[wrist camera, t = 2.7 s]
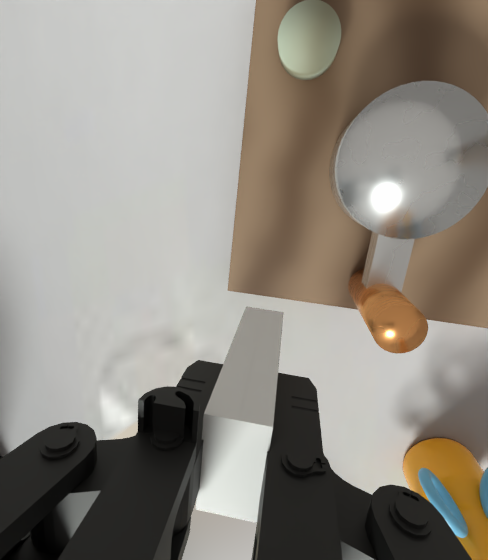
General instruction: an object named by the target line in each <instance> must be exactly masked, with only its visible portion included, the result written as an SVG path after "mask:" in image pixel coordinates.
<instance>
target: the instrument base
mask: <svg viewBox="0 0 488 560" xmlns="http://www.w3.org/2000/svg"><path fill="white" fill-rule="evenodd" d="M418 81H439V82H445V83H448V84H452V85H455V86H457V87H459V88H461V89H463V90H465V91H466V92H468V93H469V94H471V95H472V96H473V97H474V98H475V99H477V100H478V101H479V102H480V103H481V105H482V106H483V107H484V109H485V110H486V111H487V113H488V0H256V7H255V17H254V27H253V37H252V48H251V58H250V68H249V78H248V89H247V99H246V109H245V119H244V129H243V140H242V150H241V160H240V170H239V180H238V191H237V201H236V211H235V221H234V232H233V242H232V252H231V262H230V272H229V283H228V291H234V292H241V293H248V294H255V295H262V296H269V297H276V298H283V299H290V300H297V301H303V302H310V303H317V304H324V305H331V306H338V307H345V308H352V309H358V308H357V306H356V304H355V303H354V301H353V299H352V297H351V295H350V293H349V290H348V283H349V280H350V278H351V277H352V276H353V274H354V273H356V272H357V271H359V270H361V269H364V268H365V263H366V259H367V254H368V250H369V245H370V240H371V236H372V231H371V230H369V229H367V228H366V227H364V226H362V225H360V224H359V223H357V222H355V221H354V220H352V219H351V218H350V217H349V216H347V215H346V214H345V213H344V212H343V210H342V209H341V208H340V207H339V205H338V203H337V202H336V200H335V198H334V195H333V193H332V189H331V186H330V179H329V167H330V160H331V156H332V152H333V150H334V147H335V144H336V143H337V141H338V139H339V137H340V135H341V134H342V132H343V131H344V129H345V128H346V127H347V126H348V125H349V124H350V122H351V121H352V120H353V119H354V118H355V117H356V116H357V115H358V114H359V113H360V112H361V111H362V110H363V109H364V108H365V107H366V106H367V105H368V104H370V103H371V102H372V101H373V100H375V99H376V98H377V97H379V96H380V95H382V94H383V93H385V92H387V91H389V90H391V89H393V88H395V87H398V86H400V85H404V84H407V83H411V82H418ZM401 293H402V294H403V295H404V296H405V297H406V298H407V299H408V300H409V301H410V302H411V303H412V304H413V305H414V306H415V307H416V308H417V309H418V310H419V311H420V312H421V313H422V314H423V315H424V316H425V318H426V319H428V320H435V321H441V322H448V323H455V324H462V325H469V326H476V327H483V328H488V187H487V189H486V191H485V193H484V194H483V196H482V197H481V199H480V200H479V202H478V203H477V204H476V205H475V206H474V208H473V209H472V210H471V211H470V212H469V213H468V214H467V215H466V216H465V217H463V218H462V219H461V220H460V221H458V222H457V223H455V224H454V225H452V226H451V227H449V228H447V229H445V230H443V231H441V232H439V233H436V234H433V235H430V236H427V237H422V238H417V239H415V240H414V244H413V248H412V252H411V256H410V260H409V264H408V268H407V272H406V276H405V280H404V283H403V287H402V291H401Z"/></svg>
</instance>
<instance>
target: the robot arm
mask: <svg viewBox="0 0 488 560" xmlns="http://www.w3.org/2000/svg"><path fill="white" fill-rule="evenodd" d="M282 323H283V312H278V311H271V310H265V309H258V308H252V307H246V309H245V311H244V314H243V316H242V319H241V321H240V324H239V326H238V329H237V331H236V334H235V336H234V339H233V341H232V344H231V347H230V349H229V352H228V354H227V357H226V359H225V362H224V364H218V363H212V362H206V361H200V360H198V361H196V362H195V363H193V364H192V365H190V366H189V367H187V369H186V371H185V372H184V374H183V376H182V378H181V379H180V381H179V383H178V384H177V387H162V388H156V389H154V390H152V391H149V392H147V393H145V394H144V395H143V396H142V397H141V398H140V399H139V400H138V433H137V434H136V436H133V437H130V438H124V439H115V440H99V441H96V435H95V432H94V430H93V429H92V428H90V427H89V426H88V425H86V424H82V423H78V422H70V423H61V424H58V425H54V426H51V427H48V428H47V429H45V430H43V431H41V432H39V433H37V434H36V435H34V436H33V437H32V438H30V439H29V440H27V441H26V442H24V443H23V444H21V445H20V446H19V447H17V448H16V449H14V450H13V451H11V452H10V453H9V454H7V455H6V456H4V457H3V458H0V560H181V559H182V556H183V553H184V550H185V546H186V543H187V540H188V536H189V531H190V521H191V514H192V511H193V508H194V505H195V501H196V498H197V501H196V509H197V510H201V511H206V512H210V513H215V514H219V515H223V516H228V517H233V518H237V519H241V520H246V521H250V522H255V523H257V527H256V534H255V541H254V547H253V553H252V560H472V559H471V557H470V556H469V554H468V553H467V551H466V550H465V548H464V547H463V545H462V544H461V542H460V541H459V539H458V538H457V537H456V535H455V534H454V532H453V531H452V529H451V528H450V526H449V525H448V523H447V522H446V520H445V519H444V517H443V516H442V515H441V514H440V512H439V511H438V510H437V509H436V508H435V507H434V506H433V504H432V503H430V502H429V501H428V500H426V499H425V498H424V497H422V496H421V495H420V494H418V493H416V492H414V491H412V490H410V489H407V488H405V487H401V486H395V485H387V486H382V487H379V488H378V489H377V490H376V491H375V492H374V493H373V495H371V494H369V493H367V492H365V491H363V490H361V489H358V488H356V487H354V486H352V485H351V484H349V483H347V482H346V481H344V480H343V479H341V478H340V477H339V476H338V475H337V474H335V473H334V471H333V470H332V469H331V468H330V465H329V462H328V460H327V459H326V457H325V456H324V454H323V448H322V438H321V428H320V419H319V413H318V411H319V409H318V403H317V402H318V399H317V390H316V388H315V386H314V385H313V384H312V382H311V381H310V379H309V378H305V377H299V376H293V375H288V374H282V373H278V367H279V356H280V345H281V334H282Z"/></svg>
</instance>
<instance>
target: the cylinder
mask: <svg viewBox="0 0 488 560" xmlns="http://www.w3.org/2000/svg"><path fill="white" fill-rule="evenodd" d="M403 472H404V475H405V478H406V481H407V483H408V486H409V488H410V490H412V491H414V492H416V493H418V494H420V495H421V496H422V497H424V498H425V499H426V500H428V501H429V502H430V503H432V504H433V506H434V507H435V508H436V509H437V510H438V511H439V512H440V514H441V515H442V516H443V517H444V519H445V520H446V522H447V523H448V525H449V526H450V528H451V529H452V531H453V532H454V534H455V535H456V537H457V538H458V539H459V541H460V542H461V544H462V545H463V547H464V548H465V550H466V551H467V553H468V554H469V556H470V557H471V559H472V560H488V468H487V469H486V470H485V472H484V471H483V469H482V468H481V466H480V465H479V464H478V462H477V461H476V459H475V458H474V456H473V455H472V453H471V452H470V451H469V450H468V449H467V448H466V447H465V446H463V445H462V444H460V443H458V442H456V441H454V440H451V439H446V438H432V439H427V440H424V441H421V442H419V443H417V444H416V445H414V446H413V447H412V448H411V449H410V450H409V451H408V452H407V454H406V455H405V458H404V460H403Z"/></svg>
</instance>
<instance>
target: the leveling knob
mask: <svg viewBox="0 0 488 560" xmlns="http://www.w3.org/2000/svg"><path fill="white" fill-rule="evenodd" d="M329 179H330V186H331V189H332V193H333V195H334V198H335V200H336V202H337V203H338V205H339V207H340V208H341V209H342V210H343V212H344V213H345V214H346V215H347V216H349V217H350V218H351V219H352V220H354V221H355V222H357V223H359V224H360V225H362V226H364V227H366V228H367V229H369V230H371V231H372V236H371V240H370V245H369V250H368V254H367V259H366V263H365V268H364V269H361V270H359V271H357V272H356V273H354V274H353V276H352V277H351V278H350V280H349V283H348V290H349V293H350V295H351V297H352V299H353V301H354V303H355V304H356V306H357V308H358V310H359V312H360V314H361V315H362V317H363V319H364V321H365V323H366V325H367V327H368V328H369V330H370V332H371V334H372V336H373V338H374V339H375V341H376V343H377V344H378V345H379V346H380V347H381V348H382V349H384V350H386V351H388V352H392V353H405V352H409V351H412V350H414V349H415V348H417V347H418V346H419V345H420V344H421V343H422V342H423V341H424V339H425V337H426V335H427V331H428V324H427V320H426V318H425V316H424V315H423V314H422V313H421V312H420V311H419V310H418V309H417V308H416V307H415V306H414V305H413V304H412V303H411V302H410V301H409V300H408V299H407V298H406V297H405V296H404V295H403V294H402V293H401V291H402V287H403V283H404V280H405V276H406V272H407V268H408V264H409V260H410V256H411V252H412V248H413V244H414V240H415V239H417V238H422V237H427V236H430V235H433V234H436V233H439V232H441V231H443V230H445V229H447V228H449V227H451V226H452V225H454V224H455V223H457V222H458V221H460V220H461V219H462V218H463V217H465V216H466V215H467V214H468V213H469V212H470V211H471V210H472V209H473V208H474V206H475V205H476V204H477V203H478V202H479V200H480V199H481V197H482V196H483V194H484V193H485V191H486V189H487V187H488V113H487V111H486V110H485V109H484V107H483V106H482V105H481V103H480V102H479V101H478V100H477V99H475V98H474V97H473V96H472V95H471V94H469V93H468V92H466V91H465V90H463V89H461V88H459V87H457V86H455V85H452V84H448V83H445V82H439V81H418V82H411V83H407V84H404V85H400V86H398V87H395V88H393V89H391V90H389V91H387V92H385V93H383V94H382V95H380V96H379V97H377V98H376V99H375V100H373V101H372V102H371V103H370V104H368V105H367V106H366V107H365V108H364V109H363V110H362V111H361V112H360V113H359V114H358V115H357V116H356V117H355V118H354V119H353V120H352V121H351V122H350V124H349V125H348V126H347V127H346V128H345V129H344V131H343V132H342V134H341V135H340V137H339V139H338V141H337V143H336V144H335V147H334V150H333V152H332V156H331V160H330V167H329Z"/></svg>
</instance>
